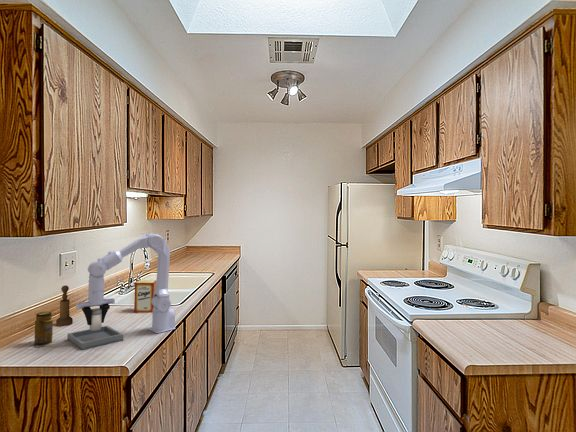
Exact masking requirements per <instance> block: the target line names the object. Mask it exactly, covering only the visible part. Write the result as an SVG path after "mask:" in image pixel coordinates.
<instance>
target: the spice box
mask: <svg viewBox="0 0 576 432" xmlns="http://www.w3.org/2000/svg"><path fill="white" fill-rule="evenodd" d="M155 289H156V280H148V279H144V280H143V279H141V280H137V281H135V282H134V303H133V304H134V308H133V310H134V311H133V312H134V314H135V313H136V314H137V313H139V314H140V313H142V314H143V313H147V314H148V313H153V308H154V306H153V305H152V302H151V300H152V298H153V296H154V291H155Z"/></svg>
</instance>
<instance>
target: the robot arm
mask: <svg viewBox="0 0 576 432" xmlns="http://www.w3.org/2000/svg"><path fill="white" fill-rule="evenodd" d="M149 248H150V249H152V250H153V251H154V252H155V253H157V265H156V266H157V267H156V280H155V281H156V289H155V291H154V296H153V298H152V300H151V302H152V305H153V306H154V308H153V312H151V313H152V320H151V322H152V324H151V327H148V328H147V329H148V330H149V331H151V332H153V333H154V334H159V333H164V332H169V331H173V330H176V328H177V327H175V326H176V313H175V310H174V309H173V308H171V305H172V301H171V299H170V293H169V292H170V291H169V275H170V273H169V272H170V263H171V262H170V259H171V258H170V257H171V249H170V247H169V245H168V244H167V242H166V239H165V238H164V237H163V236H161V235H160V234H157V233H156V234H155V233H154V232H149V233H146V234H145V235H142V236H140V237H138V238H137V239H135V240H134V241H132V242H131V243H129V244H128V245H126V246H125V247H123V248H122V249H120V250H119V251H117V250H113V251H111V250H109V251H108V252H107V254H106V255H104V256H103V257H99V258H96V260H97V261H92V262H91V263H90V264H89V265H88V267H87V272H88V273H89V274H88V275H89V276H88V294H87V295H88V296H87V297H88V298H87V301H84V302H80V303H79V302H78V303H76V305H75V309H76V310H81V311H82V312H83V315H84V317H85V319H86V324H87V326H90V325H91V315H92V309H93V307H99V308H101V309H102V324H104V321H105V318H106V315H107V313H108V312H109V310H110V309H111V308H110V305H112V304H113V305H114V304H115V301H116V299H115V298H114V297H113V298H104V297H105V278H104V277H105V276H104V275H105V274H106V271H109V270H111V269H113V268H114V267H116V266H118V264H120V263H122V261H123V259H124V258H125V257H126V256H128V255H130V254H133V253H134V252H136V251H137V250H139V249H149Z"/></svg>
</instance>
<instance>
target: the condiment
mask: <svg viewBox="0 0 576 432" xmlns="http://www.w3.org/2000/svg"><path fill="white" fill-rule="evenodd" d="M52 316H53V315H52V311H40V312H38V313H36V318H35V321H34V341H33V340H32V341H30V343H31V345H32V346H34V347H35V348H42V347H47V346H52V345H57V344H58V343H57V342H56V340H54V339H53V325H54V324H53V322H54V321H53V320H54V319H53V317H52Z"/></svg>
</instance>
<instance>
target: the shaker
mask: <svg viewBox="0 0 576 432" xmlns="http://www.w3.org/2000/svg"><path fill="white" fill-rule="evenodd" d="M91 309H92V315H91V325H89V329H90V330H91V331H96V330H100V329H101V327H102V324H103V323H102V309H101V308H100V307H99V308H91Z"/></svg>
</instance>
